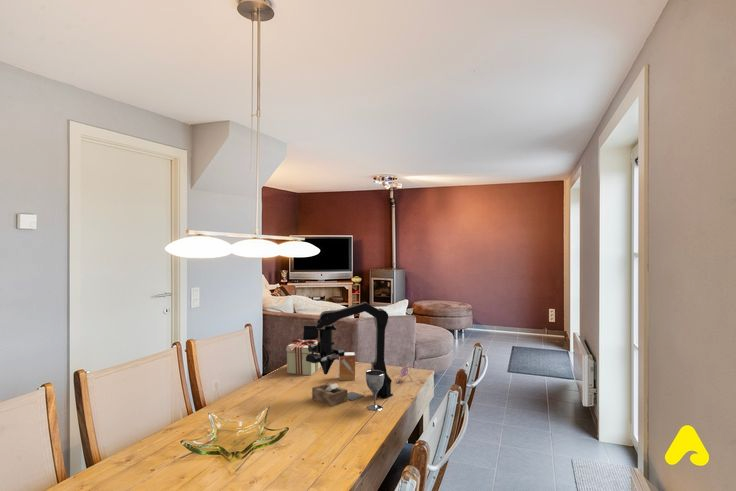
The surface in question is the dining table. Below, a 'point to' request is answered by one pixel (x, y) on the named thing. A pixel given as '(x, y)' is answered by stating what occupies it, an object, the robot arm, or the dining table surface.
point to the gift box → (300, 358)
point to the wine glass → (374, 386)
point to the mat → (353, 396)
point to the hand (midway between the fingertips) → (325, 374)
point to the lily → (404, 372)
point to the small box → (347, 366)
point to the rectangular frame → (329, 395)
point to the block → (332, 387)
